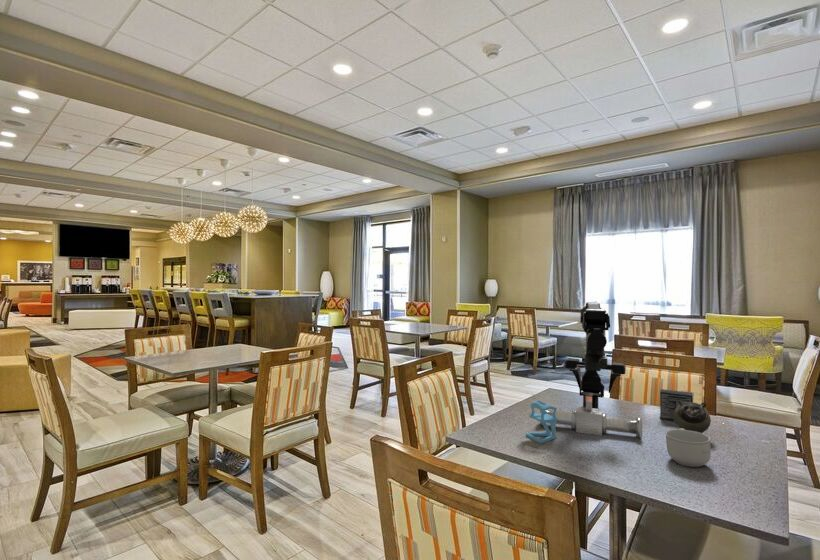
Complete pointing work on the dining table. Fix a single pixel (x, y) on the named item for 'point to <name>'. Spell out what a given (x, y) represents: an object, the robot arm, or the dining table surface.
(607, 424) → the valve manifold
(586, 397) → the valve lever
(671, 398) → the small box
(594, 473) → the dining table surface
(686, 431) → the teacup
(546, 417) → the chair
